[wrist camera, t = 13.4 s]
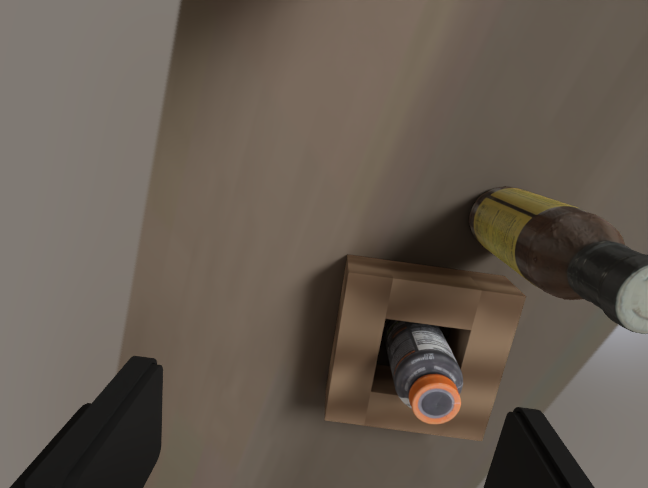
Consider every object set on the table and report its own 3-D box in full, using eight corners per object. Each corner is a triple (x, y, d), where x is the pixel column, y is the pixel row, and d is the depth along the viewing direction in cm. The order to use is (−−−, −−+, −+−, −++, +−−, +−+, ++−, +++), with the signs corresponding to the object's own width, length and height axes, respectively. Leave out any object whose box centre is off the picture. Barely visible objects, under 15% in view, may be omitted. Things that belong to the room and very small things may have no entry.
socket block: (347, 254, 42) (348, 272, 37) (504, 276, 42) (526, 296, 37) (325, 388, 46) (324, 420, 41) (467, 407, 46) (482, 441, 42)
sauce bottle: (488, 258, 41) (618, 380, 22) (454, 210, 40) (561, 294, 21) (546, 220, 40) (736, 314, 21) (512, 169, 39) (683, 219, 20)
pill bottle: (399, 367, 45) (419, 446, 34) (373, 324, 44) (385, 393, 33) (449, 343, 44) (486, 417, 33) (424, 299, 43) (454, 362, 32)
